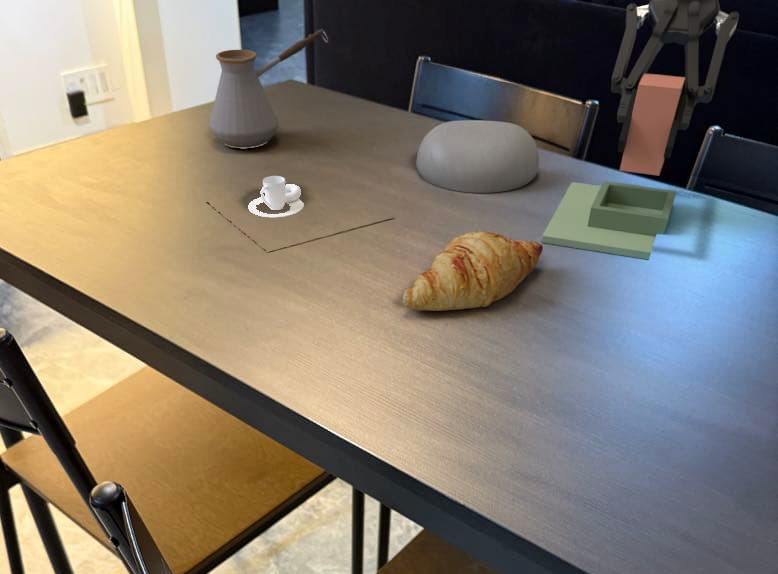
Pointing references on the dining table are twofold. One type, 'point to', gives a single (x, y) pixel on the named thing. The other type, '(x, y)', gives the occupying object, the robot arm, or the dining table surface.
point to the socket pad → (611, 218)
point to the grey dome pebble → (478, 156)
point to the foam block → (651, 123)
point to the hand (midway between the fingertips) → (644, 149)
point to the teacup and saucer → (277, 197)
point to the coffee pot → (246, 97)
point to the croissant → (473, 272)
